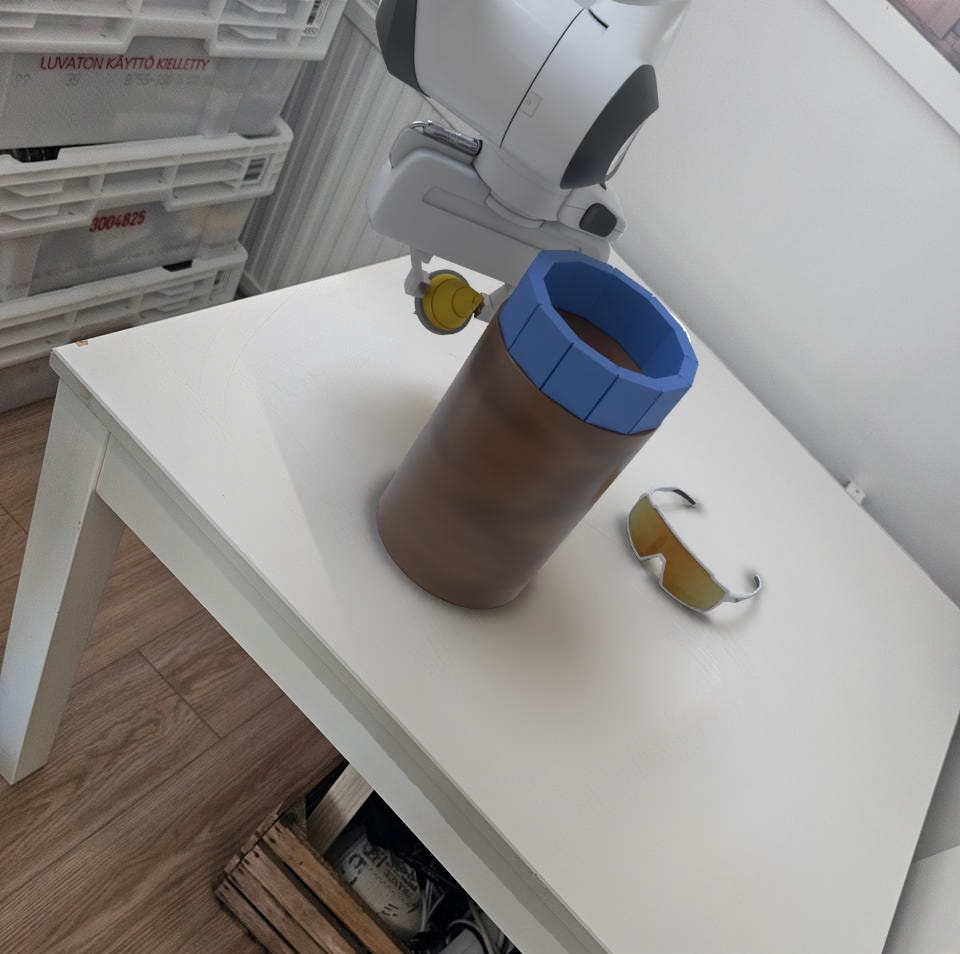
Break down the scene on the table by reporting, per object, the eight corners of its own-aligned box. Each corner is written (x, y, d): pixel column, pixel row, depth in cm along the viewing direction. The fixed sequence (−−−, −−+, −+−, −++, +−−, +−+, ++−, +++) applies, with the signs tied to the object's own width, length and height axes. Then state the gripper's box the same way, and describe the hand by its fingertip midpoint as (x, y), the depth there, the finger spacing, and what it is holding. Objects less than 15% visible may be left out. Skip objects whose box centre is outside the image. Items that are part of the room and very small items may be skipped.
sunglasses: (598, 517, 98) (632, 481, 95) (669, 502, 110) (701, 470, 107) (691, 633, 95) (730, 600, 92) (754, 606, 106) (790, 575, 104)
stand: (386, 592, 79) (517, 404, 65) (367, 460, 87) (481, 268, 73) (540, 622, 86) (688, 457, 72) (510, 497, 93) (638, 327, 80)
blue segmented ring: (520, 402, 66) (553, 354, 63) (485, 272, 73) (513, 225, 70) (683, 452, 72) (720, 412, 69) (636, 328, 80) (667, 287, 77)
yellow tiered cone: (461, 322, 94) (520, 317, 86) (413, 345, 92) (467, 342, 84) (441, 264, 92) (499, 252, 83) (391, 286, 90) (444, 276, 82)
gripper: (415, 132, 73) (338, 288, 82) (643, 234, 83) (551, 363, 92) (404, 86, 76) (331, 241, 85) (624, 189, 86) (537, 317, 95)
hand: (447, 305), depth 89 cm, fingers closed on yellow tiered cone, 5 cm apart
